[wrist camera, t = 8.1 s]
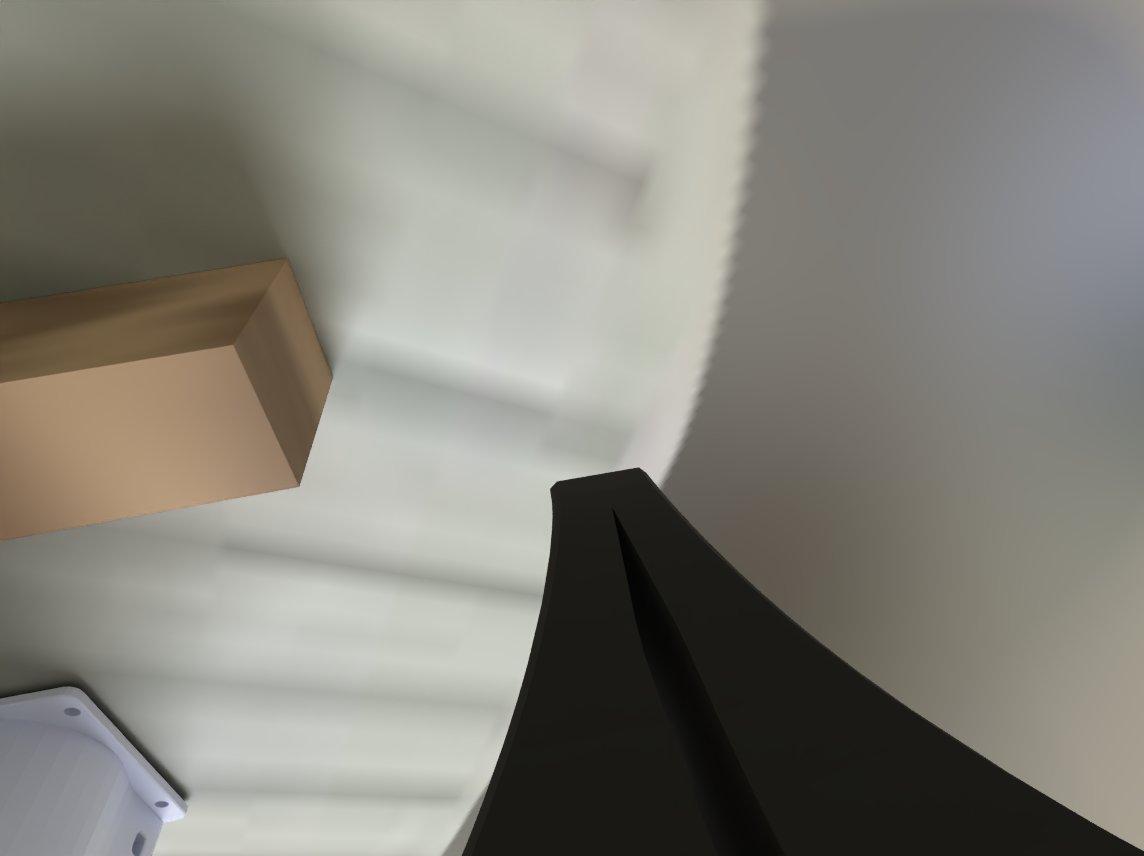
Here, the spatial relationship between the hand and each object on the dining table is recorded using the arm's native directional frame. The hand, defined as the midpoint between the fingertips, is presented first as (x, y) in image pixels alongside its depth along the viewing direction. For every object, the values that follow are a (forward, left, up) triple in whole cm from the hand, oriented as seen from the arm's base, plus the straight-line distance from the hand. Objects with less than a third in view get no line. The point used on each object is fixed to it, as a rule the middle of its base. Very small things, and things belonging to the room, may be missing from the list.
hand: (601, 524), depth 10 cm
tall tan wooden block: (0, +12, -10) cm, 15 cm away
